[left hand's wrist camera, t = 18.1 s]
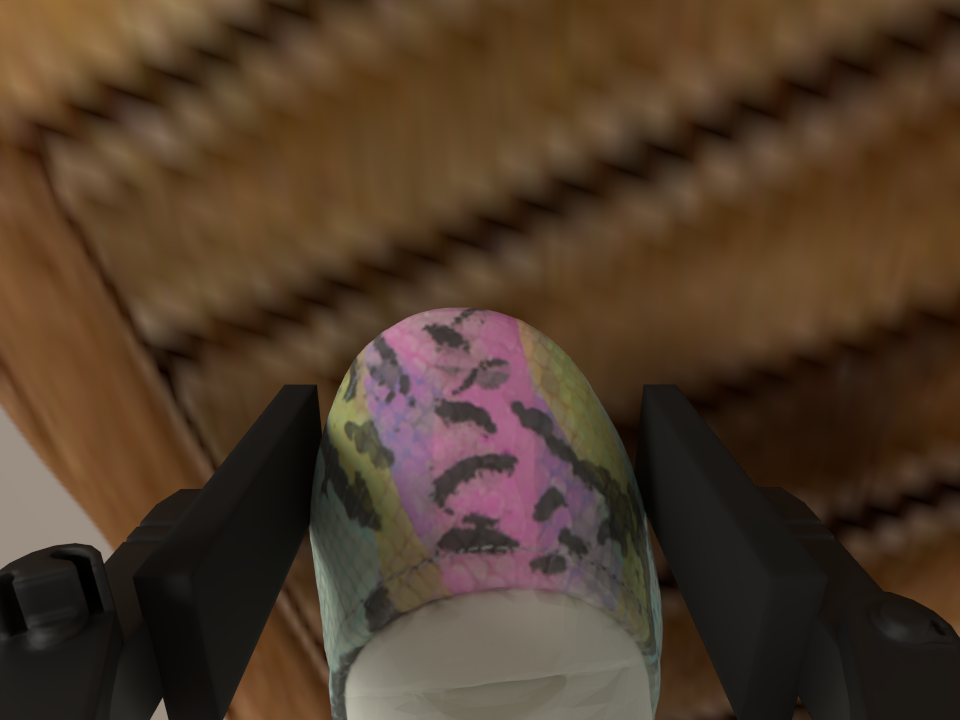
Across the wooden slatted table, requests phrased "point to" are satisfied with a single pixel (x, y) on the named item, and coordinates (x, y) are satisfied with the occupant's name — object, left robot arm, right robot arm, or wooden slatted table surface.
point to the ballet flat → (480, 534)
